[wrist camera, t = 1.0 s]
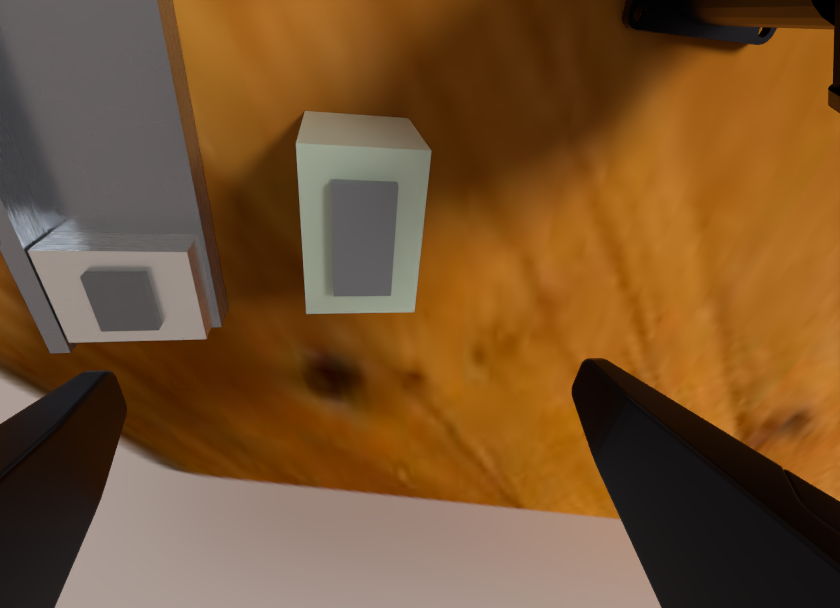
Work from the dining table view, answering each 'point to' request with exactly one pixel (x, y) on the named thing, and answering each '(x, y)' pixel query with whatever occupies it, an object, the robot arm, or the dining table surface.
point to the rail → (103, 174)
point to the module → (361, 211)
